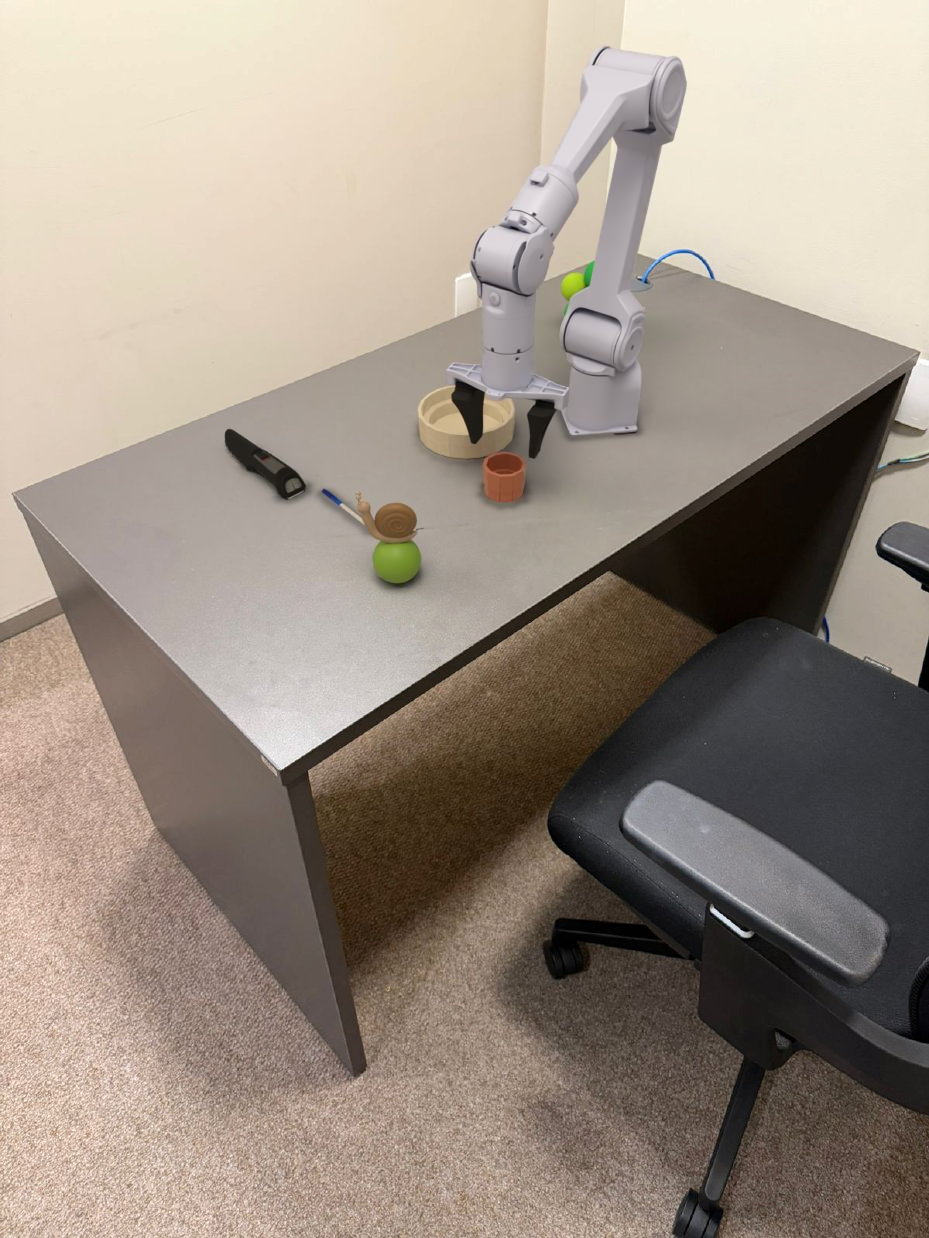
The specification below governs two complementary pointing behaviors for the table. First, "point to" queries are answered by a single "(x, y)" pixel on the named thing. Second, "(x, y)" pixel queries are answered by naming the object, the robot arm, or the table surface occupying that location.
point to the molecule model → (576, 283)
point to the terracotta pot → (504, 476)
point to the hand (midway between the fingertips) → (505, 446)
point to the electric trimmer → (265, 464)
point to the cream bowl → (463, 426)
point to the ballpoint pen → (341, 504)
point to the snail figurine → (392, 540)
